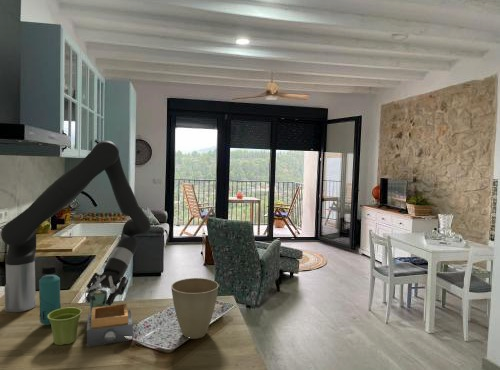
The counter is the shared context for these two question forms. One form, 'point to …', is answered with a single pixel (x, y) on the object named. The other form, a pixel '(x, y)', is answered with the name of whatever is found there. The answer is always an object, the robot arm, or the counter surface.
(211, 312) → the plant pot
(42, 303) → the beverage bottle
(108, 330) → the gearbox
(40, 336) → the counter surface
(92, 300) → the spout can
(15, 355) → the counter surface
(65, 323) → the plant pot
